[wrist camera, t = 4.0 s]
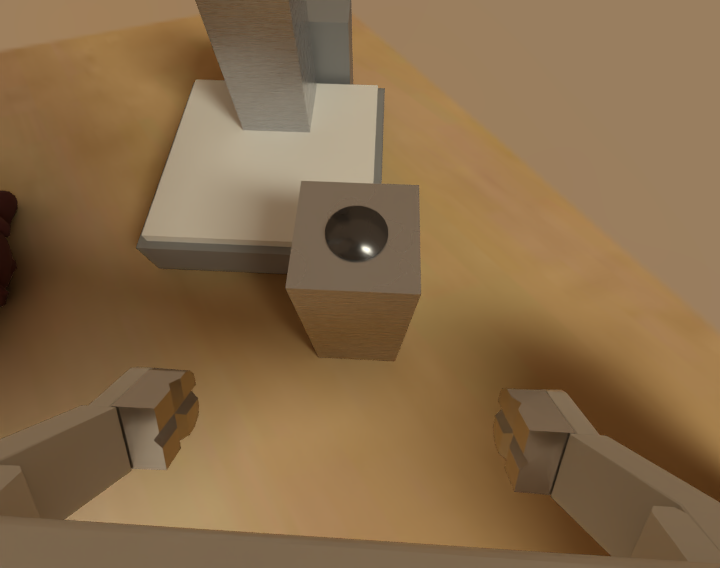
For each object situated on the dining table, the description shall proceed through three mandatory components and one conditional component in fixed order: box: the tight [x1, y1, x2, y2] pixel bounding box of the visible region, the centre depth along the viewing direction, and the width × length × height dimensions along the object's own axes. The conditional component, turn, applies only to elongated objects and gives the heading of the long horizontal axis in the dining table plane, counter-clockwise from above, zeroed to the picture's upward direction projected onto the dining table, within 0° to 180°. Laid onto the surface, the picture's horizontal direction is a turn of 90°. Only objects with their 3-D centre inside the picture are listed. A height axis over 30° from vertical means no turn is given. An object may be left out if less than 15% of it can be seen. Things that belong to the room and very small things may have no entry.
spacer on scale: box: [195, 0, 317, 133], centre depth 20 cm, size 4×4×10 cm
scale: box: [136, 0, 385, 274], centre depth 23 cm, size 14×17×7 cm
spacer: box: [285, 181, 421, 361], centre depth 17 cm, size 4×4×10 cm
